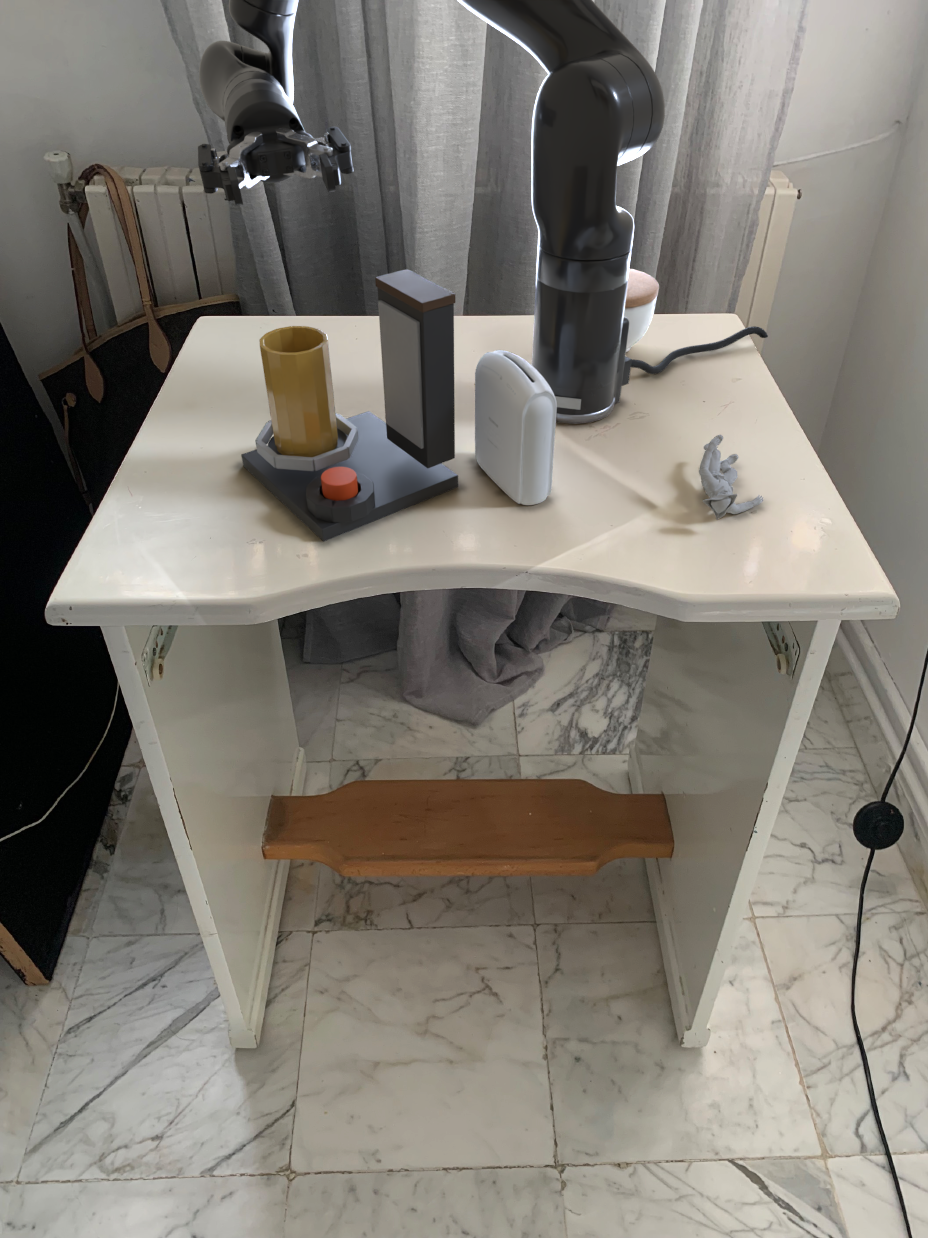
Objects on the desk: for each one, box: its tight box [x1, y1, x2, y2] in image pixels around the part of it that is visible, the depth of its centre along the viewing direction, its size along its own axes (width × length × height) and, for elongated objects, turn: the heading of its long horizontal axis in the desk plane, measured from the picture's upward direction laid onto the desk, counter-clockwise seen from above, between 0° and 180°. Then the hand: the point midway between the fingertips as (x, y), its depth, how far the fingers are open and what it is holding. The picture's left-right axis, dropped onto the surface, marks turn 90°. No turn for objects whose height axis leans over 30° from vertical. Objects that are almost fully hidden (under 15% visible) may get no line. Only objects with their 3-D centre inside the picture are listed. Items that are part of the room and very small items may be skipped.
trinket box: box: [624, 268, 660, 353], centre depth 109 cm, size 11×11×9 cm
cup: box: [259, 325, 338, 457], centre depth 84 cm, size 6×6×10 cm
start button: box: [321, 467, 358, 501], centre depth 81 cm, size 3×3×2 cm
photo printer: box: [474, 349, 557, 506], centre depth 84 cm, size 10×4×12 cm, turn 26°
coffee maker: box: [254, 268, 456, 471], centre depth 82 cm, size 15×15×16 cm
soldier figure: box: [698, 434, 764, 521], centre depth 85 cm, size 8×5×12 cm
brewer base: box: [240, 410, 459, 542], centre depth 88 cm, size 15×16×3 cm
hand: (284, 187), depth 81 cm, fingers open, 8 cm apart
